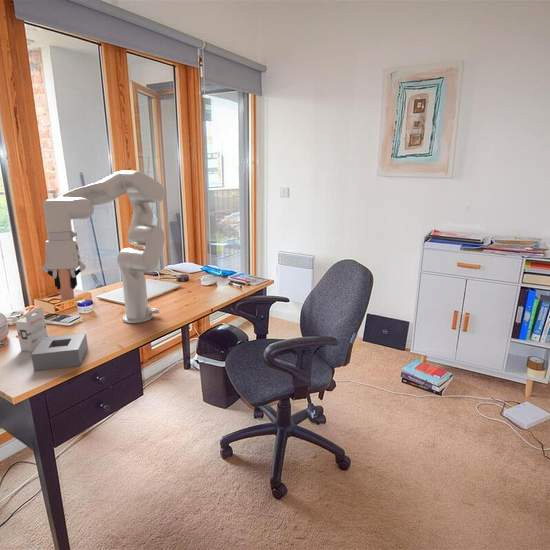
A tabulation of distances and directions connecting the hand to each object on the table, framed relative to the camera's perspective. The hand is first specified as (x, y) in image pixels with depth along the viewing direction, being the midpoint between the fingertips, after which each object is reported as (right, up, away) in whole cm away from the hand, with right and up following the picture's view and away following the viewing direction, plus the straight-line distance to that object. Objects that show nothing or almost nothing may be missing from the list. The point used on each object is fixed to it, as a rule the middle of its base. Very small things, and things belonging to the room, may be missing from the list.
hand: (66, 287), depth 137 cm
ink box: (-17, -23, +10) cm, 30 cm away
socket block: (-2, -25, 0) cm, 25 cm away
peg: (0, -4, +1) cm, 4 cm away
